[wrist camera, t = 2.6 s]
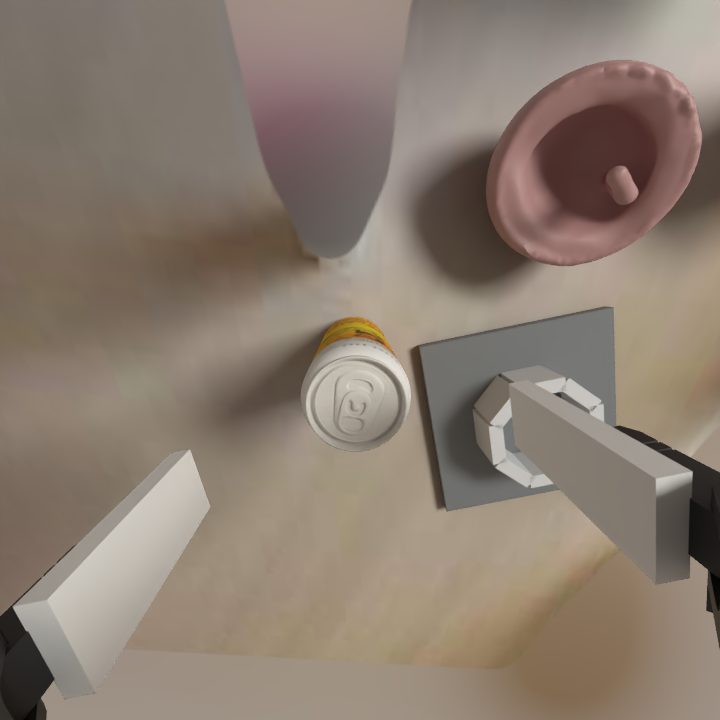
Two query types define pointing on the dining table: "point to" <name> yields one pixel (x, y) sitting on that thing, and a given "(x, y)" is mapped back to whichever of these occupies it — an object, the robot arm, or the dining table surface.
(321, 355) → the beer can
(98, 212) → the dining table surface
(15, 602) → the robot arm
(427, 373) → the socket
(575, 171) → the mortar and pestle
